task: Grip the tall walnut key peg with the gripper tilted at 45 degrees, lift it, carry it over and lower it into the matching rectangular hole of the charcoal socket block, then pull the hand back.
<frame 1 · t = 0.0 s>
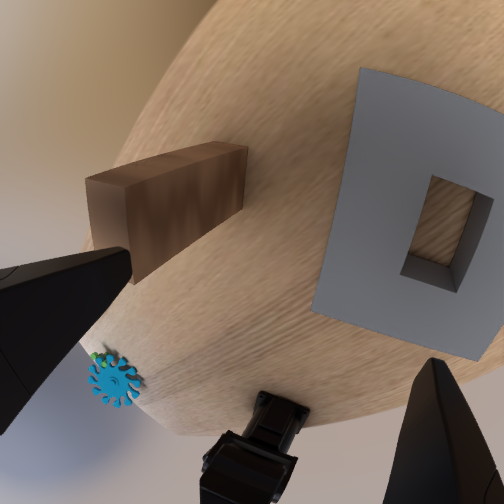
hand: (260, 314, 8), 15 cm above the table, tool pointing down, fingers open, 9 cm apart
socket block: (439, 218, 17), on the table
gear: (125, 365, 48), on the table
walnut peg: (227, 175, 23), on the table
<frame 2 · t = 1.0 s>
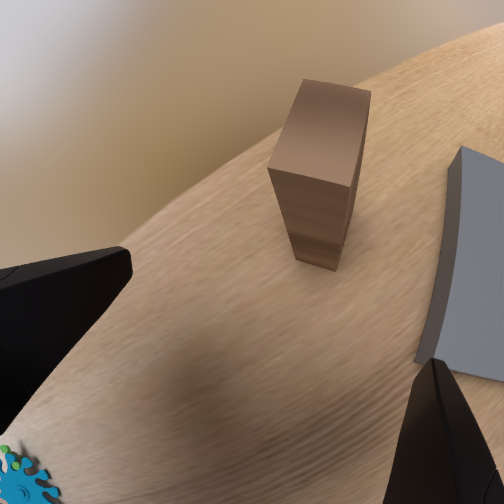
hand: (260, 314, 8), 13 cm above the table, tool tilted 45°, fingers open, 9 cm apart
gear: (42, 482, 20), on the table
walnut peg: (325, 233, 22), on the table
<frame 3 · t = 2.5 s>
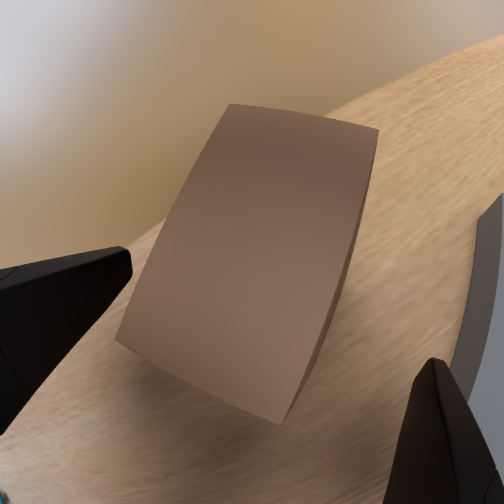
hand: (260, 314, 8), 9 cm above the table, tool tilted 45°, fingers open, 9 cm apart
walnut peg: (302, 317, 16), on the table
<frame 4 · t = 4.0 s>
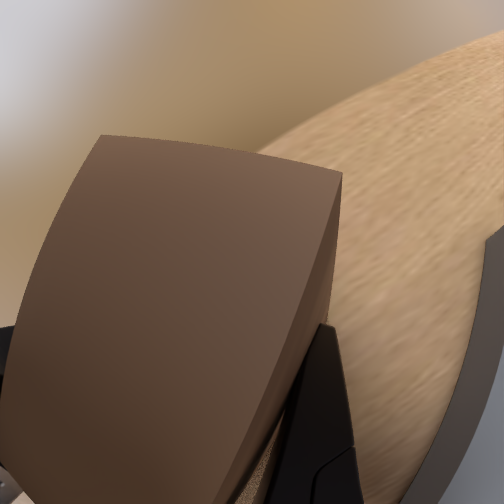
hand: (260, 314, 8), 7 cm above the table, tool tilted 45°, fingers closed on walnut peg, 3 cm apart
walnut peg: (278, 358, 13), on the table, touching gripper
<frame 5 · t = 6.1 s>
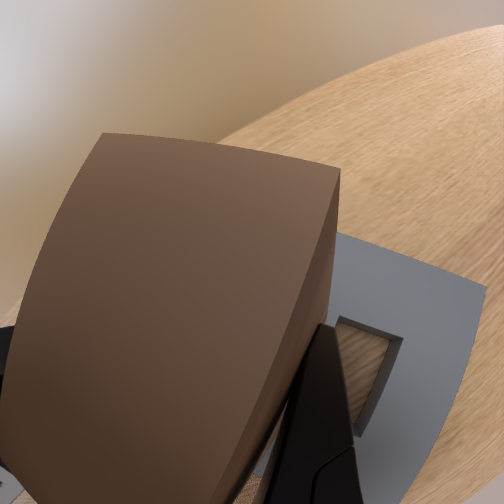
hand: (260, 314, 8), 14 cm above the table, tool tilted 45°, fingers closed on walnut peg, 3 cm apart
socket block: (346, 373, 19), on the table
walnut peg: (277, 357, 13), point 7 cm above the table, touching gripper
when the fingers open (7 cm above the table, at t = 8.1 s): walnut peg stays where it is, resting in socket block.
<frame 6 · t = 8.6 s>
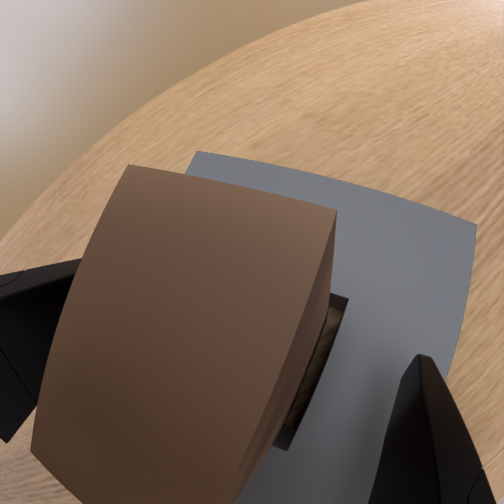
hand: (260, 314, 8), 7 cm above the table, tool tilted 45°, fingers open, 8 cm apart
socket block: (280, 357, 14), on the table
walnut peg: (280, 357, 14), resting in socket block
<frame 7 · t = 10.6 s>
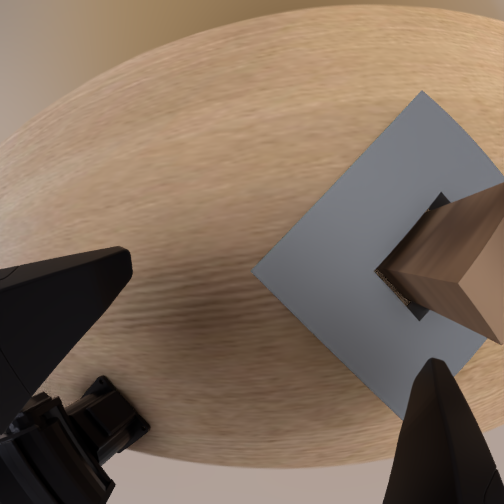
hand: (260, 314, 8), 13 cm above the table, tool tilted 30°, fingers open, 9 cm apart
socket block: (414, 255, 18), on the table
walnut peg: (413, 255, 18), resting in socket block
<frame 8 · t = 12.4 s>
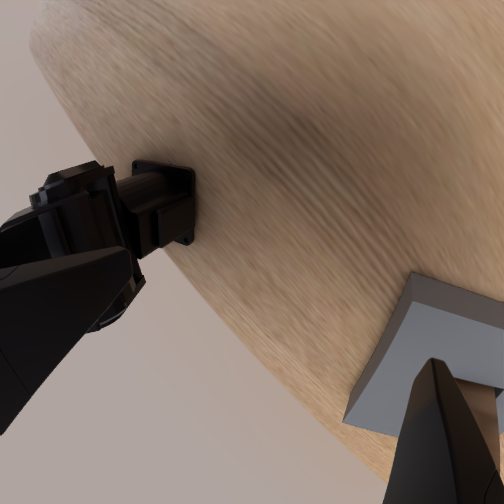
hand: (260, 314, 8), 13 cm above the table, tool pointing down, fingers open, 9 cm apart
socket block: (458, 367, 19), on the table
walnut peg: (459, 367, 19), resting in socket block
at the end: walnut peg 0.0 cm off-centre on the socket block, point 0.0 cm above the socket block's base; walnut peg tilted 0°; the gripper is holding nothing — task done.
